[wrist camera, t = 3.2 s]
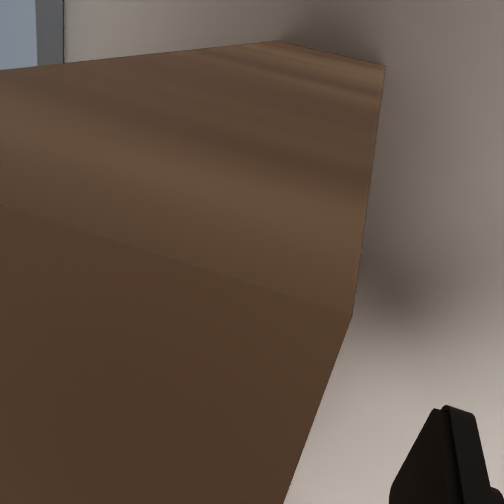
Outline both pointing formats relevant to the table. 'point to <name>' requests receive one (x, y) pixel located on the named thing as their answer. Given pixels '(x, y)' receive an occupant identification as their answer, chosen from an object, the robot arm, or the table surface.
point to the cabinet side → (30, 33)
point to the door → (176, 268)
